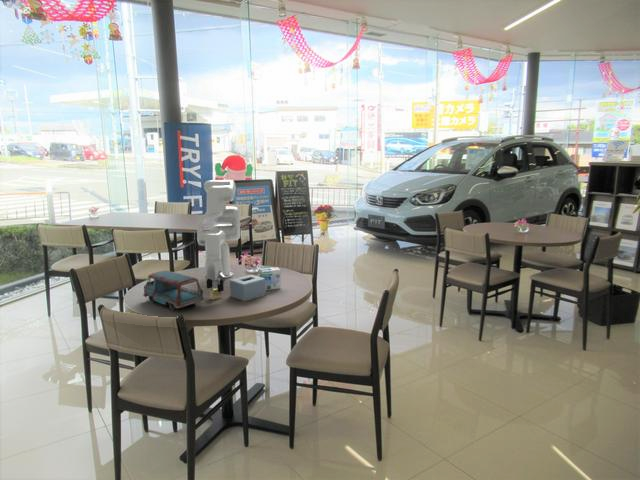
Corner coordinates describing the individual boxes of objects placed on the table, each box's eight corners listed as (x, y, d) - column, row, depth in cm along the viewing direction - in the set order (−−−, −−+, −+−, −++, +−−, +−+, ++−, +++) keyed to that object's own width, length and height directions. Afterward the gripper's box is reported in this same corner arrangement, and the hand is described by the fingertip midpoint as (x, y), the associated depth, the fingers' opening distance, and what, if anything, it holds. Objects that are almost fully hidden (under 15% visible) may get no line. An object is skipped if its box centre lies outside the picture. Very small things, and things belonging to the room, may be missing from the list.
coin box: (230, 296, 238) (229, 279, 236) (251, 290, 248) (250, 274, 246) (244, 301, 230) (243, 284, 228) (265, 294, 240) (265, 278, 238)
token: (210, 299, 234) (209, 289, 233) (218, 296, 238) (218, 287, 237) (212, 300, 233) (212, 290, 232) (221, 297, 236) (220, 288, 235)
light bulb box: (262, 290, 248) (261, 271, 245) (259, 287, 254) (258, 268, 252) (281, 288, 251) (280, 269, 249) (277, 285, 258) (277, 266, 255)
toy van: (168, 293, 243) (166, 266, 240) (205, 305, 224) (204, 276, 221) (141, 301, 231) (139, 272, 228) (178, 314, 212) (176, 284, 209)
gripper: (197, 255, 234) (199, 288, 237) (216, 260, 222) (218, 294, 225) (210, 253, 239) (211, 285, 242) (229, 258, 228) (231, 291, 231)
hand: (215, 289), depth 234 cm, fingers open, 9 cm apart
